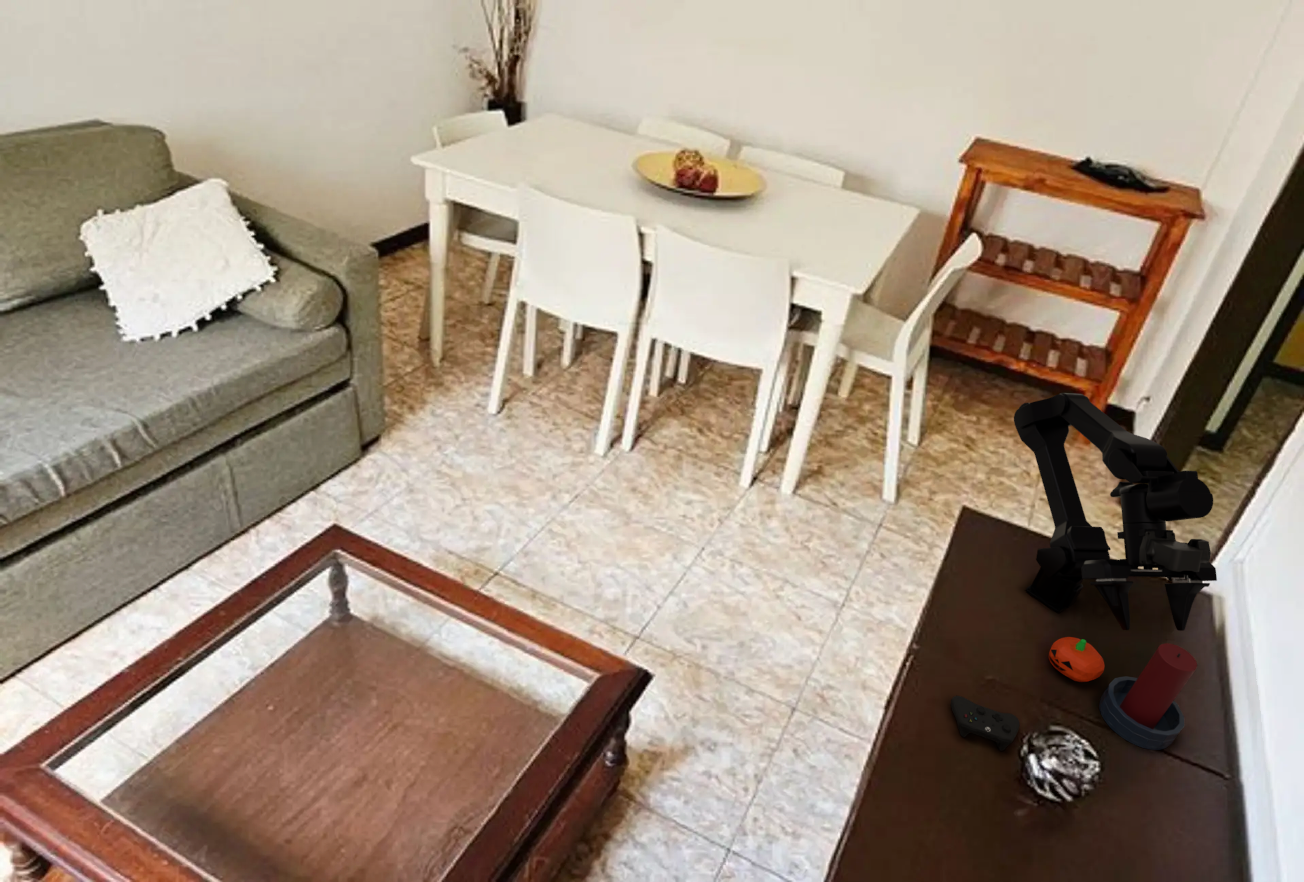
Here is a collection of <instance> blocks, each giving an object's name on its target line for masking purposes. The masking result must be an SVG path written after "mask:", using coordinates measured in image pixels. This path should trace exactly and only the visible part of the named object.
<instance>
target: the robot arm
mask: <svg viewBox="0 0 1304 882" xmlns="http://www.w3.org/2000/svg"><path fill="white" fill-rule="evenodd" d="M1013 424H1014V426H1015V429H1016V431H1017V434H1018V436H1019V439H1020V441H1021V442H1022V443H1023V444H1024V445H1025V446H1026V447H1027V448H1028V449H1029V450H1030V451H1032V453H1033V454H1034V457H1035V460H1036V464H1037V468H1038V471H1039V475H1040V478H1041V482H1042V486H1043V489H1044V492H1045V496H1046V500H1047V503H1048V507H1049V509H1050V514H1051V517H1052V521H1053V525H1054V531H1053V533H1052V535H1051V539H1050V541H1049V547H1043V548H1038V549H1037V553H1036V558H1035V561H1036V562H1037V564H1038V565H1039V569H1038V571H1037V573H1036V575H1035V577H1034V579H1033V581H1032V583H1031V584H1030V585H1028V586H1027V587H1026V588H1025V592H1026V593H1027V594H1029V595H1030V596H1031V597H1033V598H1034V599H1036V600H1037V601H1039V602H1040V603H1042V604H1043V605H1045V606H1046V607H1048V608H1049V609H1051V610H1053V612H1055V613H1061V612H1062V611H1063V610H1065V609H1069V608H1070V607H1071V606H1072V605H1074V604H1075V603H1076V601H1077V599H1078V597H1079V595H1080V593H1081V592H1082V590H1083V588H1084V585H1083V584H1082V583H1083V581H1084V580H1095V581H1089V585H1090V586H1094V587H1095V588H1096V590H1097V591H1098V592H1099V595H1101V597H1102V598H1103V600H1104V601H1105V602H1106V604H1107V606H1108V607H1109V609H1110V610H1111V612H1112V614H1113V616H1114V617H1115V619H1116V621H1117V623H1118V625H1119V627H1120V628H1121V630H1123V631H1129V630H1130V628H1131V614H1130V613H1131V611H1130V600H1129V592H1130V590H1131V588H1132V586H1133V584H1134V581H1133V580H1131V581H1130V580H1127V579H1128V578H1129V577H1132V578H1133V577H1135V578H1137V577H1138V578H1166V579H1167V580H1168V581H1169V582H1170V583H1164V587H1165V591H1166V595H1167V599H1168V603H1169V608H1170V612H1171V616H1172V619H1173V623H1174V625H1175V628H1176V630H1177V631H1179V632H1181V631H1184V632H1185V630H1186V626H1187V623H1188V620H1189V618H1190V614H1191V610H1192V607H1193V604H1194V601H1195V600H1196V597H1197V595H1198V594H1199V593H1200V592H1201V591H1202V590H1203V589H1204V588H1209V586H1210V585H1211V582H1217V581H1218V579H1217V577H1218V576H1217V569H1216V567H1215V566H1214V565H1213V564H1212V563H1211V556H1212V551H1211V546H1210V542H1209V541H1208V540H1206V539H1202V538H1190V539H1189V541H1188V542H1181V541H1178V540H1177V539H1176V533H1175V532H1174V529H1167V524H1166V523H1167V522H1176V521H1177V522H1178V521H1185V520H1193V519H1202V518H1205V517H1206V516H1208V515H1209V514H1210V513H1211V512H1212V510H1213V507H1214V495H1213V493H1212V492H1211V490H1210V488H1209V486H1208V485H1207V484H1206V483H1205V482H1204V481H1202V480H1201V479H1199V474H1198V471H1197V470H1179V469H1178V467H1177V466H1176V465H1175V464H1174V462H1173V461H1172V460H1171V459H1170V457H1169V456H1168V451H1167V450H1166V449H1165V447H1164V446H1163V445H1161V444H1160V443H1158V442H1155V441H1153V440H1152V439H1149V438H1147V437H1144V436H1142V435H1141V436H1140V435H1138V434H1134V433H1131V432H1129V431H1127V430H1126V429H1124V428H1123V426H1121V425H1119V423H1118V422H1116V421H1115V420H1113V418H1111V417H1110V416H1109V415H1108V414H1106V413H1105V412H1103V411H1102V410H1101V409H1100V408H1098V407H1097V406H1096V405H1095V404H1094V403H1092V402H1091V400H1090V399H1089V397H1088V396H1086V395H1085V394H1083V393H1071V392H1070V393H1069V392H1061V393H1057V394H1055V395H1053V396H1051V397H1048V398H1044V399H1040V400H1035V401H1031V402H1024V403H1021V404H1020V406H1019V407H1018V409H1016V410H1015V412H1014V415H1013ZM1069 427H1073V429H1075V430H1076V431H1078V433H1079V434H1081V435H1082V436H1083V437H1084V438H1085V439H1086V440H1088V441H1089V442H1090V443H1091V444H1092V445H1093V446H1095V448H1097V449H1098V450H1099V451H1100V453H1101V460H1102V463H1103V464H1104V465H1105V467H1106V468H1107V469H1108V471H1109V472H1110V473H1111V475H1112V476H1113V477H1114V478H1115V479H1118V480H1126V481H1119V482H1118V484H1117V486H1116V487H1115V488H1113V489H1112V490H1111V492H1110V493H1109V496H1110V497H1111V498H1120V508H1121V520H1122V531H1117V539H1118V540H1119V539H1120V540H1123V542H1124V557H1125V558H1119V559H1112V558H1111V556H1110V555H1111V554H1110V552H1109V551H1111V547H1110V545H1109V544H1108V541H1107V538H1106V532H1105V530H1104V528H1103V527H1102V526H1093V525H1092V524H1090V523H1089V521H1088V520H1087V518H1086V515H1085V511H1084V508H1083V505H1082V501H1081V497H1080V495H1079V492H1078V489H1077V488H1078V487H1077V485H1076V481H1075V478H1074V474H1073V471H1072V468H1071V465H1070V461H1069V458H1068V455H1067V452H1066V451H1067V450H1066V448H1065V443H1066V441H1067V438H1068V435H1069V432H1070V428H1069Z"/></svg>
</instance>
